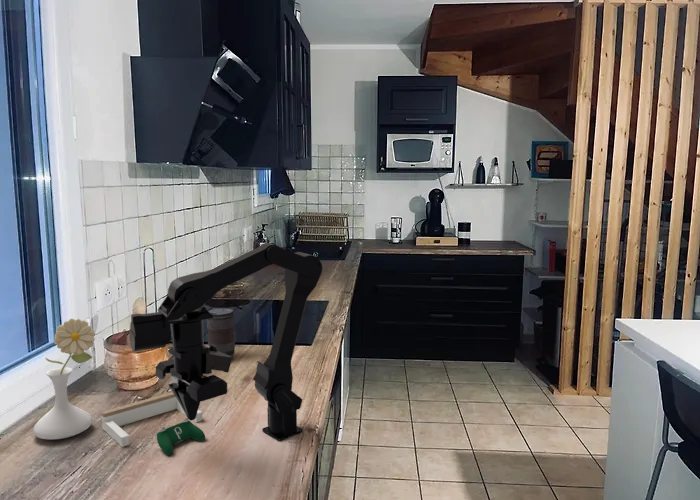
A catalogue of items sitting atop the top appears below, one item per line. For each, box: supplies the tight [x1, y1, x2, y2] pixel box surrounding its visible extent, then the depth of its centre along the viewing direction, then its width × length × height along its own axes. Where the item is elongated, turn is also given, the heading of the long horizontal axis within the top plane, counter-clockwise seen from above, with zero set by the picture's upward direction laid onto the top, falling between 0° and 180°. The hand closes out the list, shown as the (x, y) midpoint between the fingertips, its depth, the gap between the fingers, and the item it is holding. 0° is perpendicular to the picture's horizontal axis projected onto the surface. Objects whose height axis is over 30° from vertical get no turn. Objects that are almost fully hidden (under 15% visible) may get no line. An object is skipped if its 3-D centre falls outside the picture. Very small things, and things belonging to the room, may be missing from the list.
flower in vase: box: [32, 318, 96, 440], centre depth 116 cm, size 13×11×25 cm
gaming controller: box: [156, 417, 206, 457], centre depth 112 cm, size 9×4×6 cm
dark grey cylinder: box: [206, 307, 236, 360], centre depth 164 cm, size 8×8×15 cm
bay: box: [101, 391, 203, 448], centre depth 121 cm, size 12×18×4 cm, turn 133°
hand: (191, 419), depth 107 cm, fingers closed
